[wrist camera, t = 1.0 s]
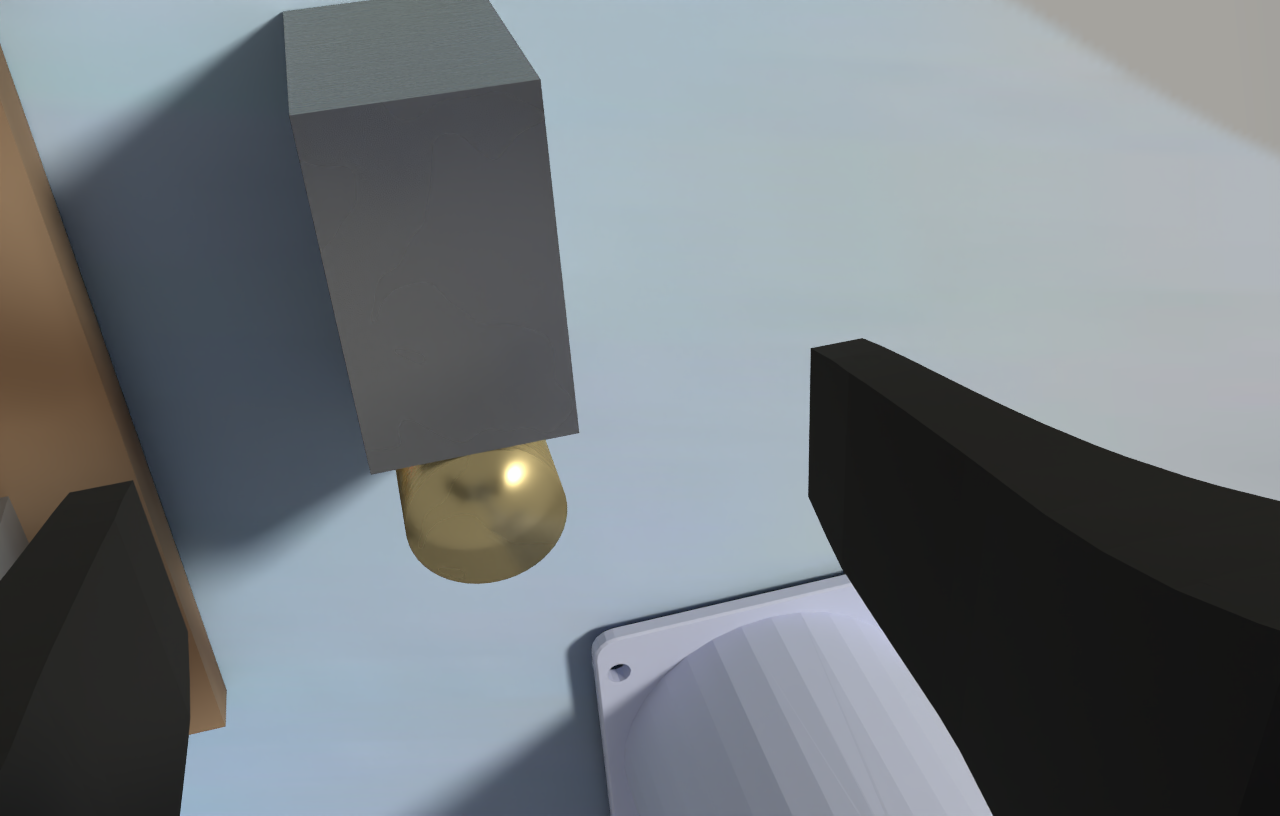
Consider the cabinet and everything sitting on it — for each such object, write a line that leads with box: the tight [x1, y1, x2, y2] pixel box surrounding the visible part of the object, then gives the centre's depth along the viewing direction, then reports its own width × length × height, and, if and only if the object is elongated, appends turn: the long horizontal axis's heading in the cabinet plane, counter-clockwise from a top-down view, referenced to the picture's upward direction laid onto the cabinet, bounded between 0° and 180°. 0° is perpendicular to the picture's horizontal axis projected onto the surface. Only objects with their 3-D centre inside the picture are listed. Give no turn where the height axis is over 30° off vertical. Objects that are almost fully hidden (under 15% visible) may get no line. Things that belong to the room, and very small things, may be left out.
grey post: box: [283, 0, 579, 584], centre depth 19 cm, size 8×3×5 cm, turn 4°
